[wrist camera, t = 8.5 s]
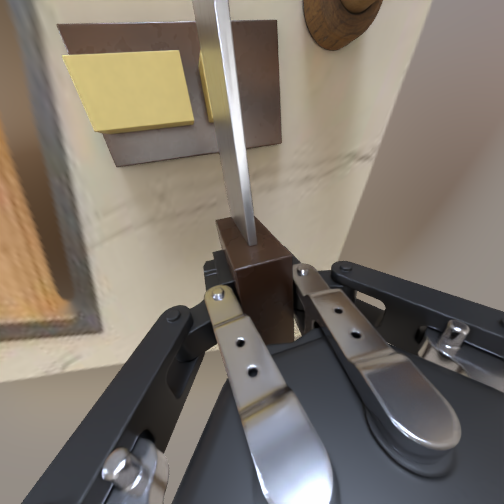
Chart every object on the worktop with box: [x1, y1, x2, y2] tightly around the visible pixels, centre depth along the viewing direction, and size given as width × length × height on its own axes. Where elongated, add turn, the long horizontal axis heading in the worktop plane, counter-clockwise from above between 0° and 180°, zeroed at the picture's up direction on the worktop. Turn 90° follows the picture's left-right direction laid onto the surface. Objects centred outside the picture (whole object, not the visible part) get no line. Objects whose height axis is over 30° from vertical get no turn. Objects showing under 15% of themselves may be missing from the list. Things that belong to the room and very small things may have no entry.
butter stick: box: [62, 50, 194, 134], centre depth 15 cm, size 4×7×3 cm, turn 98°
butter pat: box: [198, 50, 214, 123], centre depth 16 cm, size 4×2×3 cm, turn 8°
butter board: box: [57, 20, 282, 167], centre depth 17 cm, size 9×16×1 cm, turn 97°
